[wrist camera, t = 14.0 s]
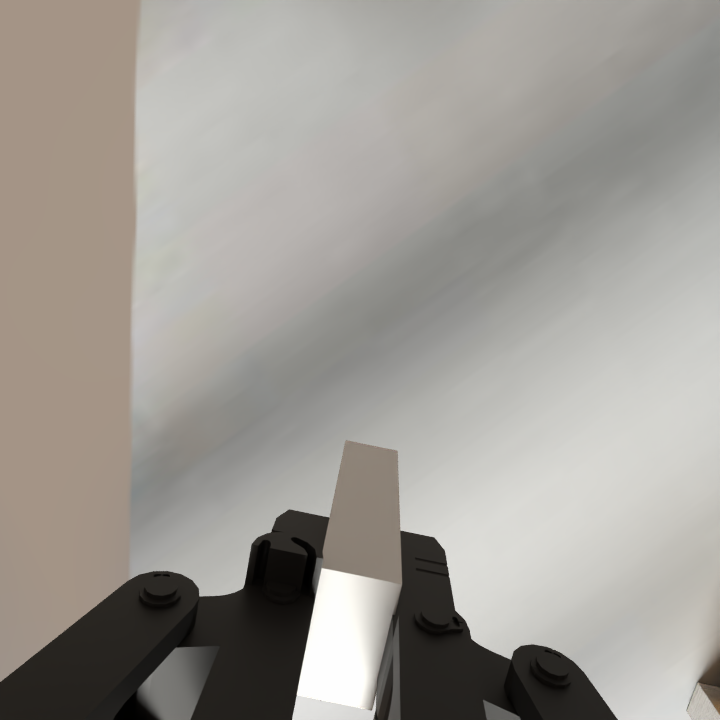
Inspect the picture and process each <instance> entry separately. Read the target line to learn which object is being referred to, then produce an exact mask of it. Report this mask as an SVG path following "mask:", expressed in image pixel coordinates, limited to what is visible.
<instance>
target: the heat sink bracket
mask: <svg viewBox="0 0 720 720" xmlns="http://www.w3.org/2000/svg"><path fill="white" fill-rule="evenodd" d="M687 713H688V714H689V716H690V718H691V719H692V720H720V687H717V686H712V685H708V684H703V683H697V685H696V688H695V691H694V693H693V696H692V698H691V701H690V704H689V706H688V709H687Z"/></svg>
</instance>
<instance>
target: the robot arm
mask: <svg viewBox="0 0 720 720" xmlns="http://www.w3.org/2000/svg"><path fill="white" fill-rule="evenodd" d="M376 692H377V694H376ZM297 695H299V696H304V697H309V698H313V699H318V700H323V701H328V702H333V703H338V704H342V705H347V706H352V707H357V708H362V709H367V710H372V708H373V704H374V700H375V696H376V711H375V715H374V719H373V720H618V719H617V718H616V717H615V715H614V714H613V712H612V711H611V710H610V708H609V707H608V705H607V704H606V703H605V701H604V700H603V698H602V697H601V696H600V694H599V693H598V691H597V690H596V689H595V687H594V686H593V684H592V683H591V682H590V680H589V679H588V677H587V676H586V675H585V673H584V672H583V671H582V670H581V669H580V668H579V667H578V666H577V665H576V664H575V663H574V662H573V661H572V660H570V659H569V658H567V657H566V656H564V655H563V654H561V653H560V652H558V651H556V650H552V649H551V648H548V647H544V646H538V645H533V644H532V645H524V646H520V647H519V648H518V649H516V650H515V651H514V652H513V656H512V659H511V660H510V659H508V658H505V657H503V656H501V655H498V654H496V653H494V652H492V651H490V650H488V649H486V648H484V647H482V646H480V645H479V644H477V643H476V642H474V641H473V640H472V639H471V635H470V630H469V628H468V626H467V623H466V621H465V620H464V619H463V618H462V617H461V616H460V615H459V614H458V613H457V612H456V611H455V607H454V601H453V595H452V590H451V584H450V578H449V572H448V567H447V561H446V555H445V550H444V549H443V548H442V547H441V545H440V544H439V543H438V542H437V540H436V539H435V538H434V537H429V536H424V535H419V534H414V533H409V532H404V531H400V509H399V481H398V452H397V451H395V450H391V449H386V448H381V447H376V446H371V445H366V444H361V443H356V442H351V441H345V446H344V451H343V456H342V461H341V465H340V470H339V475H338V480H337V485H336V489H335V494H334V499H333V504H332V509H331V513H330V518H328V517H323V516H318V515H314V514H309V513H304V512H299V511H294V510H288V511H286V512H285V513H283V514H282V515H280V516H279V517H277V518H276V521H275V523H274V526H273V529H272V532H271V533H267V534H265V535H262V536H260V537H258V538H257V539H256V540H255V541H254V542H253V543H252V546H251V552H250V557H249V563H248V569H247V575H246V581H245V585H244V588H243V589H241V590H239V591H237V592H235V593H232V594H228V595H222V596H203V597H199V589H198V587H197V586H196V585H195V583H194V582H193V581H192V580H191V579H189V578H187V577H185V576H183V575H182V574H177V573H173V572H169V571H153V572H149V573H145V574H140V575H138V576H136V577H134V578H132V579H131V580H129V581H127V582H126V583H125V584H123V585H122V586H121V587H120V588H118V589H117V590H116V591H115V592H113V593H112V594H111V595H110V596H108V597H107V598H106V599H104V600H103V601H102V602H101V603H99V604H98V605H97V606H96V607H95V608H93V609H92V610H91V611H89V612H88V613H87V614H86V615H84V616H83V617H82V618H81V619H79V620H78V621H77V622H76V623H74V624H73V625H72V626H71V627H69V628H68V629H67V630H66V631H64V632H63V633H62V634H60V635H59V636H58V637H57V638H56V639H54V640H53V641H52V642H50V643H49V644H48V645H47V646H45V647H44V648H43V649H42V650H40V651H39V652H38V653H36V654H35V655H34V656H33V657H31V658H30V659H29V660H28V661H26V662H25V663H24V664H23V665H21V666H20V667H19V668H18V669H16V670H15V671H14V672H13V673H11V674H10V675H9V676H8V677H6V678H5V679H4V680H3V681H1V682H0V720H292V716H293V711H294V706H295V701H296V696H297Z"/></svg>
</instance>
